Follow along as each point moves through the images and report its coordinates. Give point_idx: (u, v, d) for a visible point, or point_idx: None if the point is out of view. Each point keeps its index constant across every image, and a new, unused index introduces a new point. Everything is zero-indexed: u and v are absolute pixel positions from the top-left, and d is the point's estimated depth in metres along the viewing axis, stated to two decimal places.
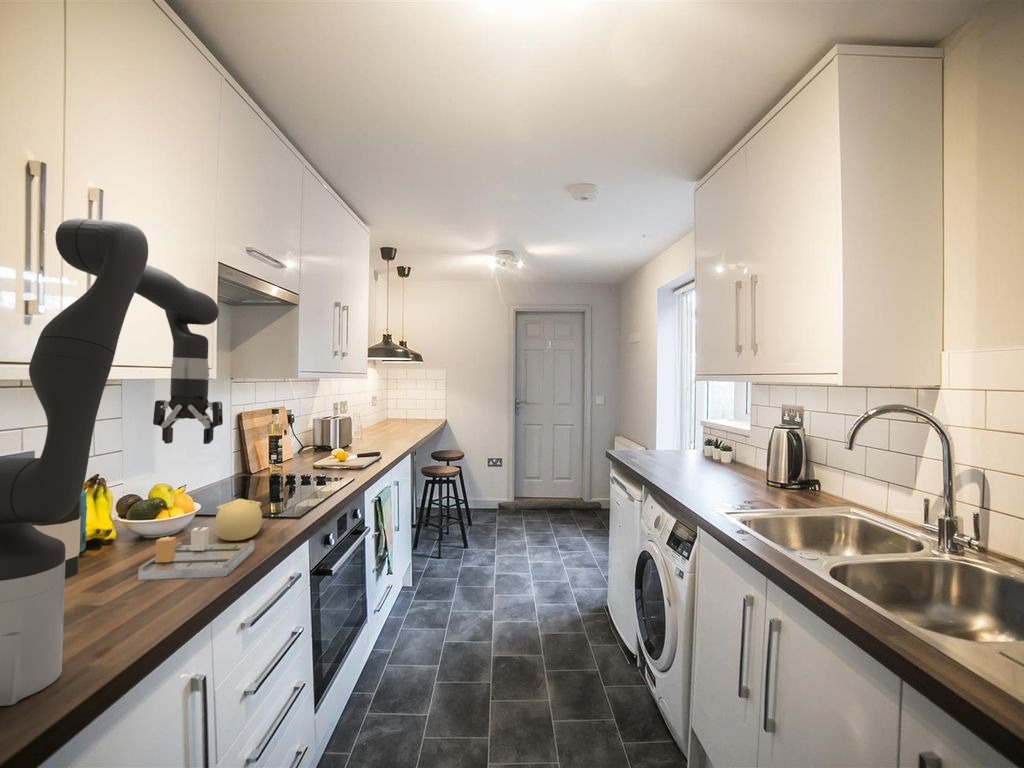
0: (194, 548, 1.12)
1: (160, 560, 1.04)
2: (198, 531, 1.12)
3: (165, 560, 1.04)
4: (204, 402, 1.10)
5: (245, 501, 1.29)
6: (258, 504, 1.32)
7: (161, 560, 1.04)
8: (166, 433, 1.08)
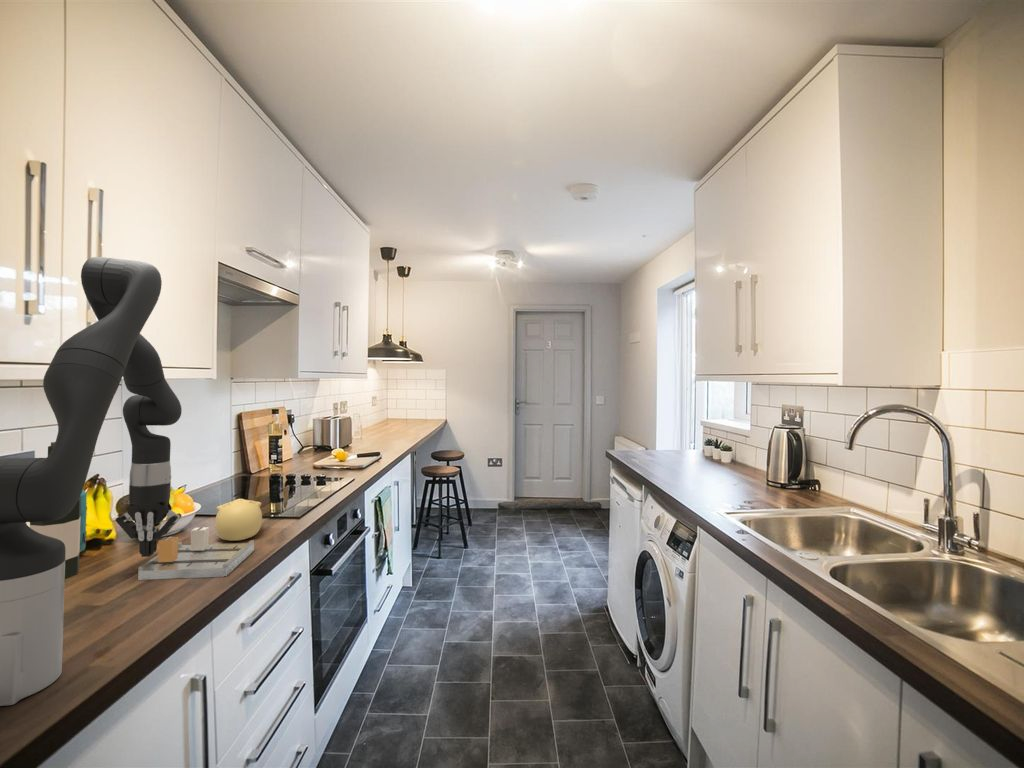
0: (194, 548, 1.12)
1: (162, 560, 1.04)
2: (198, 531, 1.12)
3: (167, 560, 1.05)
4: (166, 510, 1.05)
5: (245, 501, 1.29)
6: (258, 504, 1.32)
7: (163, 560, 1.04)
8: (143, 546, 1.04)
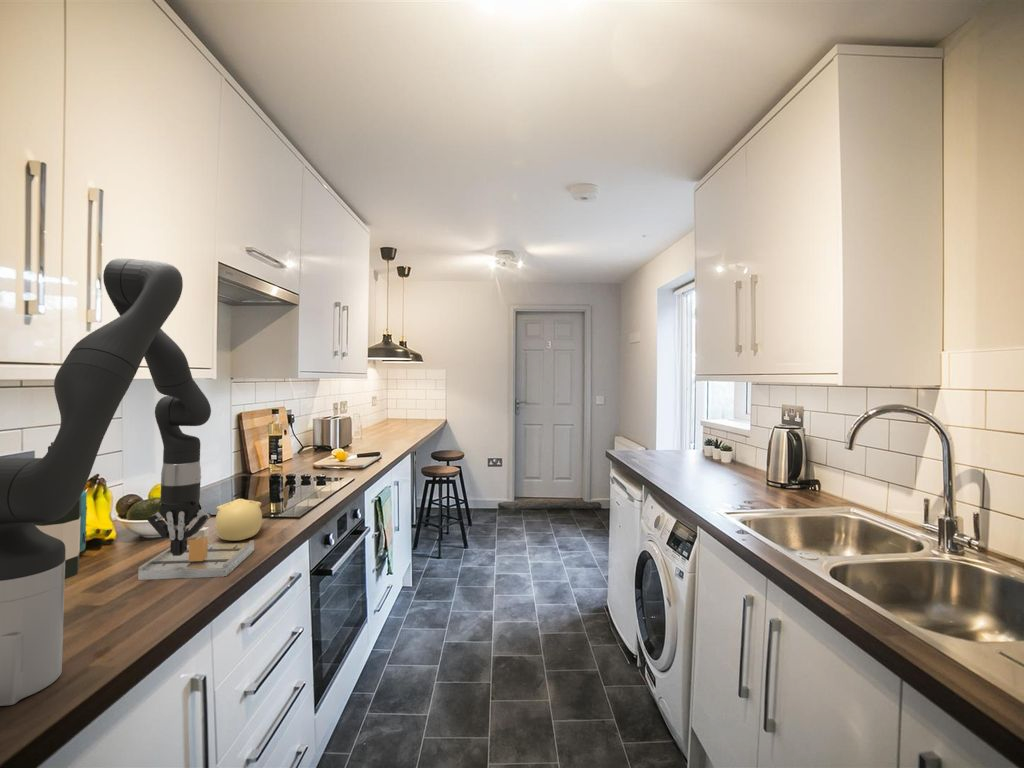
0: None
1: (193, 559, 1.05)
2: (198, 531, 1.12)
3: (198, 559, 1.06)
4: (196, 510, 1.06)
5: (245, 501, 1.29)
6: (258, 504, 1.32)
7: (194, 559, 1.06)
8: (174, 545, 1.05)
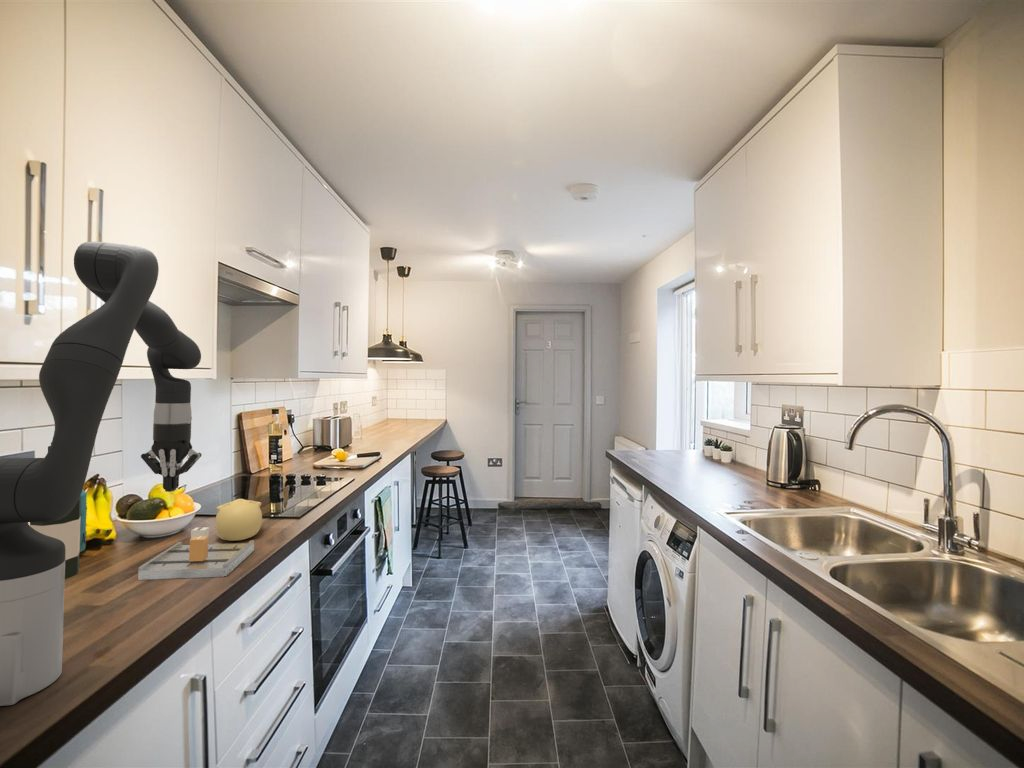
0: None
1: (194, 559, 1.05)
2: (198, 531, 1.12)
3: (199, 559, 1.06)
4: (187, 448, 1.12)
5: (245, 501, 1.29)
6: (258, 504, 1.32)
7: (195, 559, 1.06)
8: (167, 481, 1.11)
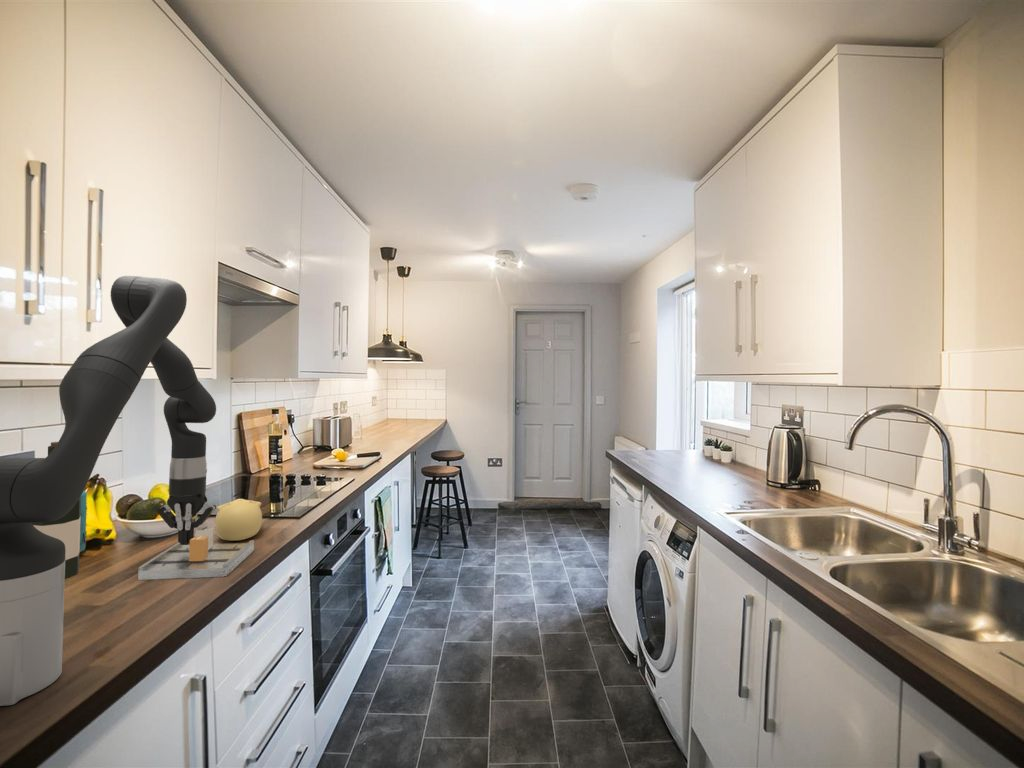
0: None
1: (194, 559, 1.05)
2: (202, 531, 1.12)
3: (199, 559, 1.06)
4: (202, 502, 1.12)
5: (245, 501, 1.29)
6: (258, 504, 1.32)
7: (195, 559, 1.06)
8: (182, 535, 1.11)
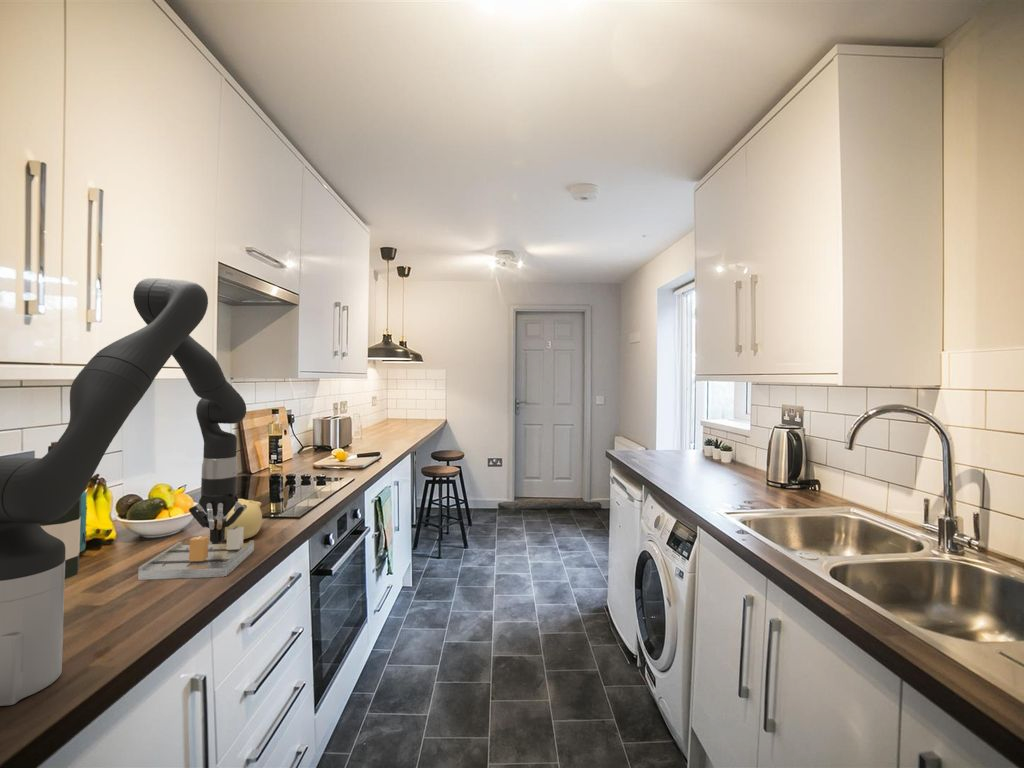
0: (230, 547, 1.13)
1: (194, 559, 1.05)
2: (234, 530, 1.13)
3: (199, 559, 1.06)
4: (234, 501, 1.13)
5: (245, 501, 1.29)
6: (258, 504, 1.32)
7: (195, 559, 1.06)
8: (214, 534, 1.13)
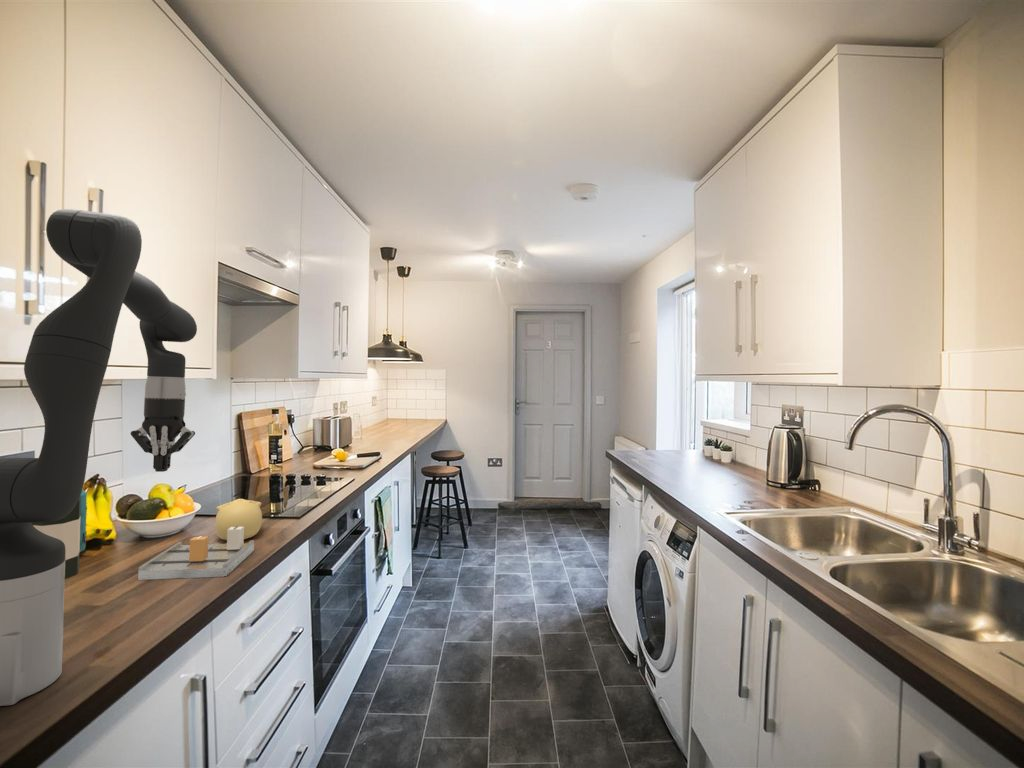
0: (230, 547, 1.13)
1: (194, 559, 1.05)
2: (234, 530, 1.13)
3: (199, 559, 1.06)
4: (180, 425, 1.05)
5: (245, 501, 1.29)
6: (258, 504, 1.32)
7: (195, 559, 1.06)
8: (157, 461, 1.04)
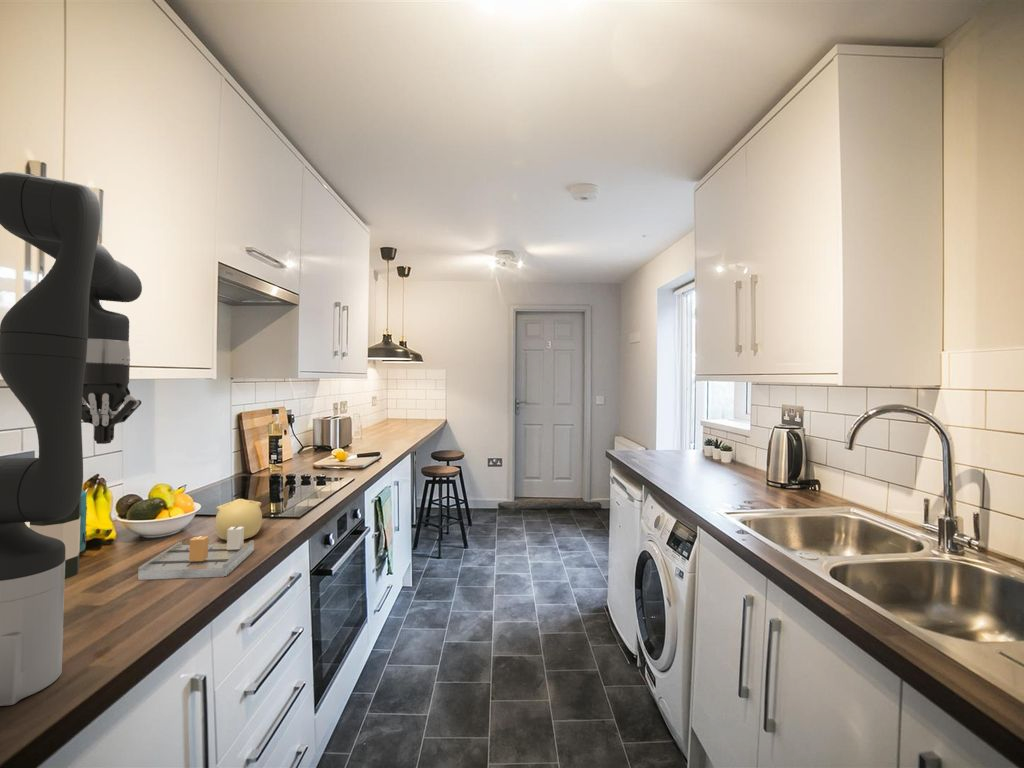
0: (230, 547, 1.13)
1: (194, 559, 1.05)
2: (234, 530, 1.13)
3: (199, 559, 1.06)
4: (123, 393, 0.95)
5: (245, 501, 1.29)
6: (258, 504, 1.32)
7: (195, 559, 1.06)
8: (98, 432, 0.95)
